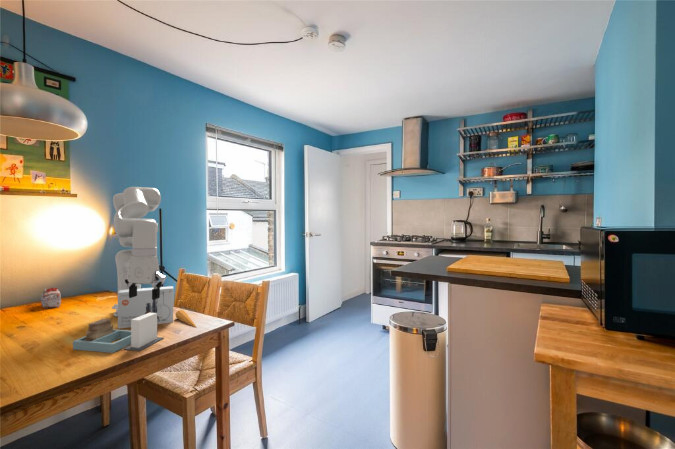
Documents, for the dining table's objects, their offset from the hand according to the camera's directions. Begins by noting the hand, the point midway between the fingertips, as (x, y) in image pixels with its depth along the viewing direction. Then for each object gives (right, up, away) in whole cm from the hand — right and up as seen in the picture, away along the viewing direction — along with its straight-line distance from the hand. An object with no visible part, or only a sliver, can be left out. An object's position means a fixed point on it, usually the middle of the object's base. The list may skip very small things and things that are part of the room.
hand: (144, 297), depth 119 cm
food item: (-80, -16, +49) cm, 95 cm away
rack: (-13, -17, 0) cm, 22 cm away
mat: (0, -17, 0) cm, 17 cm away
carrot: (+4, -17, +24) cm, 30 cm away
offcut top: (-17, -12, 0) cm, 21 cm away
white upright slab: (0, -17, 0) cm, 17 cm away
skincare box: (-13, -17, +22) cm, 31 cm away
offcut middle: (-17, -15, 0) cm, 22 cm away
